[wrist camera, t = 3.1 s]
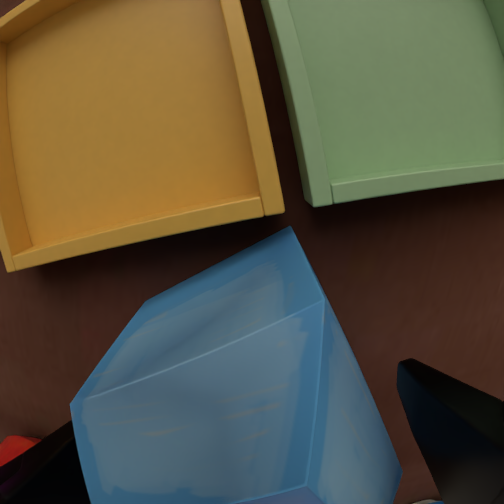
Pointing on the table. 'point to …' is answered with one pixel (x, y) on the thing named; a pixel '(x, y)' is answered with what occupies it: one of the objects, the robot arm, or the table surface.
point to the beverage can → (429, 502)
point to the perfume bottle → (235, 395)
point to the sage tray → (391, 93)
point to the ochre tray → (127, 125)
